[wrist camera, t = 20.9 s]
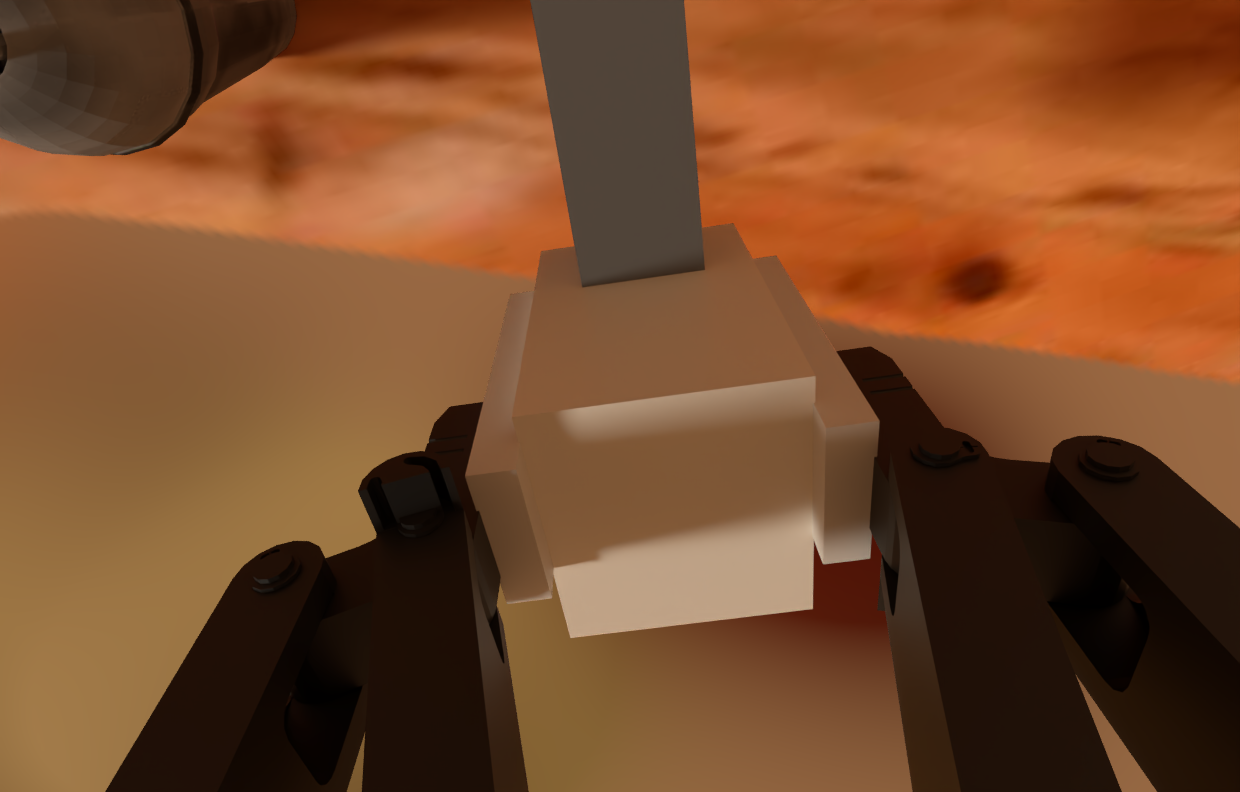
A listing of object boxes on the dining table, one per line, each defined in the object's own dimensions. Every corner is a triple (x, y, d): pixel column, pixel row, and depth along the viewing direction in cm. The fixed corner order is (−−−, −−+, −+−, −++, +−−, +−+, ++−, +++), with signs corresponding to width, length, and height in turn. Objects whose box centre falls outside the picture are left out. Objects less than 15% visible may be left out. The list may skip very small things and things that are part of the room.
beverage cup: (169, -148, 27) (-576, -344, 10) (354, -33, 29) (11, -28, 12) (130, 36, 30) (-482, 132, 13) (299, 127, 32) (-33, 313, 15)
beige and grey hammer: (397, -443, 10) (139, -976, 5) (694, -500, 10) (835, -1136, 4) (577, 425, 19) (570, 638, 13) (742, 403, 19) (813, 608, 13)
